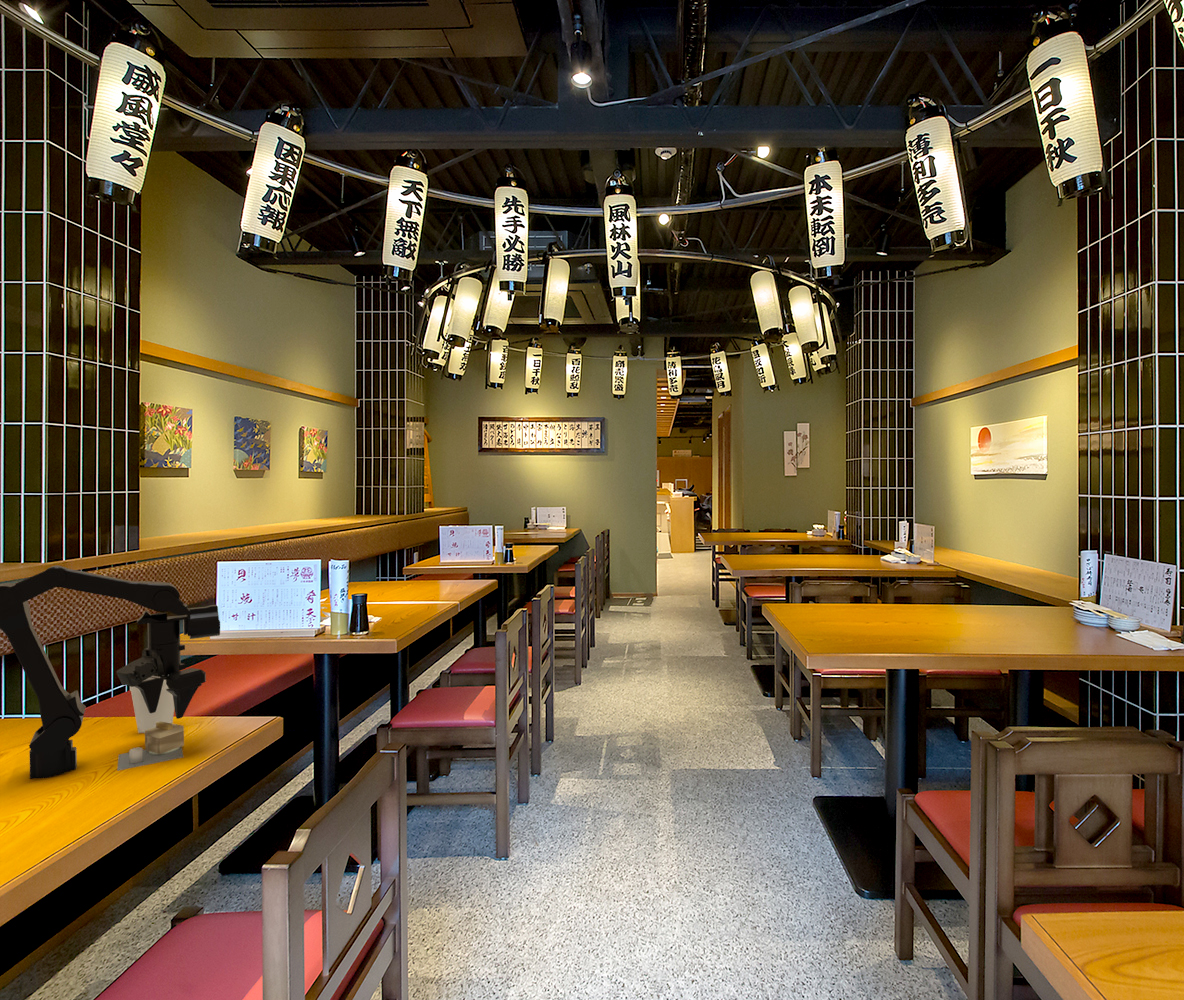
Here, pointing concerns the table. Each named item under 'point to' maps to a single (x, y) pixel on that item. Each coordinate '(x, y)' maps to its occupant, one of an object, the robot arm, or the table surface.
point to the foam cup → (161, 715)
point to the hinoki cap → (164, 737)
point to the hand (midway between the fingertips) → (165, 715)
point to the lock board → (146, 757)
